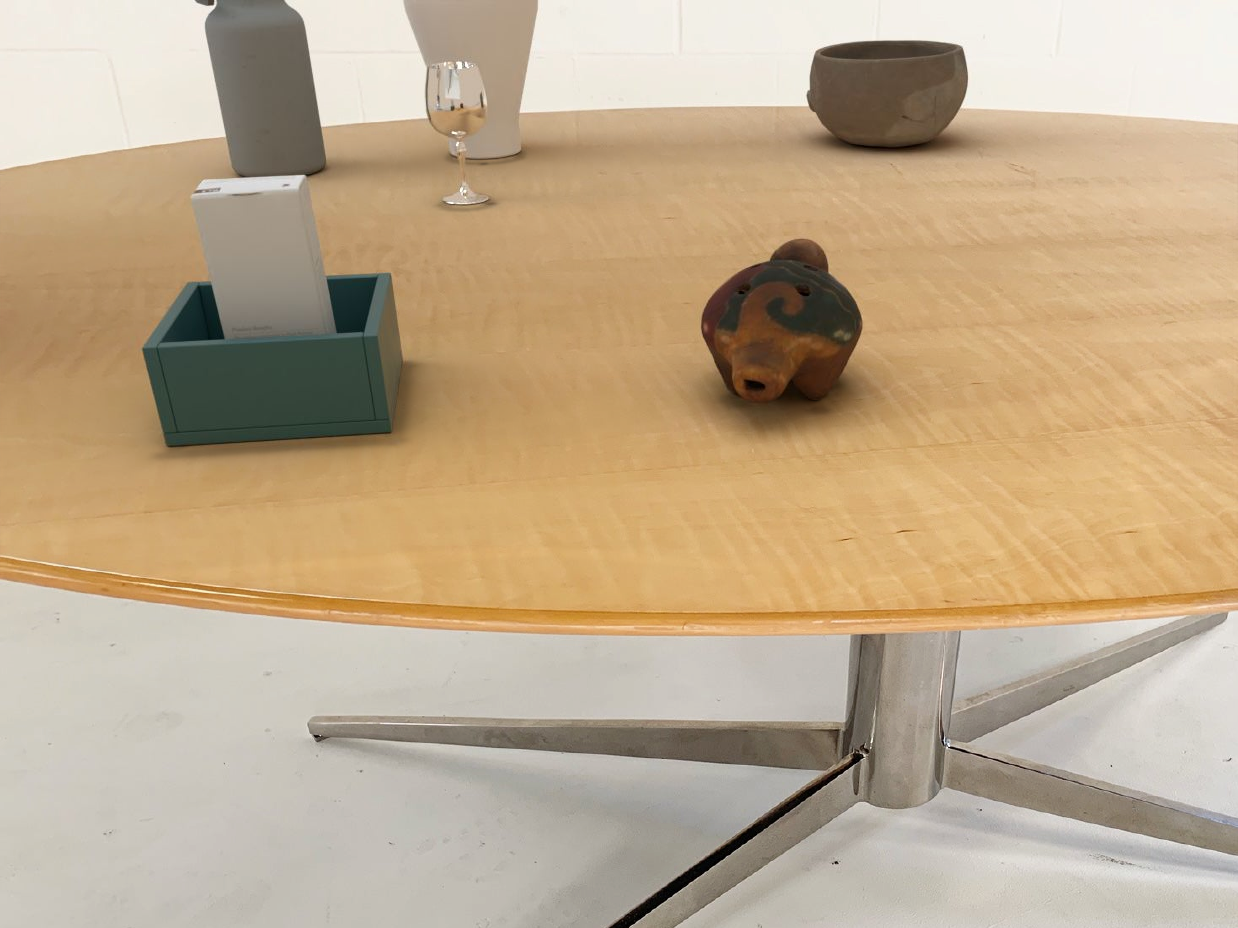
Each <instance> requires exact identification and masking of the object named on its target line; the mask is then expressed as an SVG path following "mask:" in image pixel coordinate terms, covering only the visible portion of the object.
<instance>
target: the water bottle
mask: <svg viewBox="0 0 1238 928" xmlns="http://www.w3.org/2000/svg"><path fill="white" fill-rule="evenodd" d="M194 1H195V2H196V3H197V4H200V5H202V6H206V7H211V6H214V5H215V6H214V8H213V9H211V11H210V12H209V13H208V14H207V16H206V18H205V21H204V31H205V38H206V41H207V47H208V52H209V58H210V64H211V68H212V74H213V76H214V77H213V78H214V83H215V88H216V94H217V97H218V98H217V99H218V103H219V108H220V114H221V118H222V124H223V128H224V134H225V138H226V143H227V148H228V153H229V159H230V164H231V167H232V169H233V170H234V172H236V174H238V175H240V176H243V177H244V178H250V177H270V176H294V175H305V176H309V175H312V174H314V173H317V172H319V171H321V170H322V169H323V168H324V167H325V166H326V165H327V154H326V149H325V143H324V142H325V141H324V138H323V137H324V135H323V130H322V123H321V116H320V112H319V106H318V99H317V93H316V92H317V91H316V86H315V81H314V73H313V66H312V60H311V55H310V54H311V53H310V48H309V43H308V35H307V30H306V25H305V21H304V18H303V17H302V15H301V13H299V12H298V11H297V9H294V7H291V6H290V5H289V4H288V3H287V1H286V0H216V1H215V0H194ZM215 2H216V4H215Z"/></svg>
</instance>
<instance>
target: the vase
mask: <svg viewBox="0 0 1238 928" xmlns="http://www.w3.org/2000/svg"><path fill="white" fill-rule="evenodd" d="M402 2H403V6H404V11H405V14H406V17H407V20H408V23H409V25H410V29H411V31H412V32H413V35H414V39H415V41H416V43H417V46H418V49H419V52H420V54H421V57H422V59H423V63H424V65H425V67H426V69H427V66H428V65H430V64H435V63H444V62H470V63H475V64H477V65H478V68H479V71H480V75H481V78H482V81H483V85H484V89H485V93H486V99H487V117H486V121H485V123H484V125H483V127H482V128H481V129H480V130H479V131H478V132H476V133H475V134H473V135H471V136H469V137H467V138H464V139H463V143H464V144H465V147H466V156H465V159H469V160H491V159H499V158H507V157H512V156H514V155H518V154H519V153H520V152H521V151H522V145H521V143H522V142H521V132H520V131H521V130H520V111H521V106H522V100H523V94H524V88H525V84H526V77H527V72H528V65H529V60H530V56H531V55H530V54H531V48H532V43H533V39H534V32H535V27H536V21H537V14H538V10H539V0H402ZM447 140H448V150H449V153H450V154H451V155H452V156H453V157H456V158H458V157H457V155H456V151H455V148H456V143H457V140H456V139H454V138H450V137H447Z"/></svg>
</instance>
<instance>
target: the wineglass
mask: <svg viewBox="0 0 1238 928" xmlns="http://www.w3.org/2000/svg"><path fill="white" fill-rule="evenodd" d="M423 97H424V108H425V113H426V117H427V119H428V122H429V124H430V125H431V127H432V128H433V129H434V130H435V131H436V132H438V133H439V134H441V135H443V136H445V137H447V138H448V137H450V138H454V139H456V140H457V143H456V148H455V151H456V155H457V157H456V158H457V161H458V163H459V169H460V179H461V185H460V188H459V190H458V191H457V192H455V193H452V194H449V195H445V196H444V197H443V198H442V201H443V202H444V203H445V204H449V205H457V206H458V205H459V206H460V205H461V206H463V205H464V206H465V205H477V204H481V203H485V202H486V201H488V200H489V199H490V197H489V195H487V194H485V193H481V192H475V191H473V190H472V189H471V188H470V186H469V185H468V182H467V174H466V158H465V156H466V147H465V144H464V143H463V139H464V138H467V137H469V136H471V135H473V134H475V133H476V132H478V131H479V130H480V129H481V128H482V127H483V125H484V123H485V121H486V117H487V99H486V93H485V89H484V85H483V81H482V78H481V75H480V71H479V68H478V65H477V64H475V63H470V62H444V63H435V64H430V65H428V66H427V68H426V69H425V80H424V96H423Z"/></svg>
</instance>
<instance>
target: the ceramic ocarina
mask: <svg viewBox="0 0 1238 928" xmlns="http://www.w3.org/2000/svg"><path fill="white" fill-rule="evenodd" d="M700 319H701V321H700V330H701V336H702V338H703V340H704V342H705V345H706V347H707V348H708V350H709V352H710V354H711V356H712V359H713V362H714V364H715V367H716V368H717V370H718V372H719V374H720V376H721V378H722V381H723V383H724V385H725V387H726V389H727V390H728V391H730V392H731V393H732V394H734V395H739V397H741V398H743V399H744V400H745V401H747V402H748V403H753V404H759V405H760V404H761V405H764V404H769V403H772V402H774V401H775V400H777V399H778V398H779V397H780V396H781V395H782V394H783V393H784V391H785V390H786V388H787V386H788V384H789V383H790V381H792V382H793V384H794V385H795V386H796V387H797V388H798V389H799V390H800V391H801V392H802V393H803V394H804V396H806V397H807V398H808V399H809V400H814V401H816V400H821V399H824V398H826V397H827V395H828V394H829V393H830V392H831V390H832V389H833V387H834V386H835V384H836V383H837V381H838V380H839V378H840V377H841V376H842V374H843V372H844V371H845V369H846V367H847V365H848V362H849V360H850V358H851V356H852V355H853V353H854V351H855V349H856V348H857V347H856V346H857V344H858V342H859V340H860V338H861V334H862V332H863V324H864V323H863V318H862V313H861V311H860V308H859V306H858V304H857V301H856V299H855V298H854V297H853V296H852V294H851V292H850V291H849V290H848V289H847V287H846V286H845V285H844V284H843V282H841V281H840V280H839V279H837V278H836V277H834V275H832V274H831V273H829V262H828V258H827V254H826V253H825V251H824V249H823V248H822V246H821V245H820V244H818V243H817V242H815V241H814V240H812V239H808V238H795V239H792V240H789V241H786V242H785V243H783V244H782V245H780V246H779V247H777V248H776V249H775V250H774V251H773V253H772V255H771V256H770V259H769V260H767V261H763V262H760V263H756V264H753V265H751V266H748V267H746V268H744V269H741V270H739V271H738V272H736V273H734V274H733V275H732V276H730V277H729V278H728V279H726V280H725V281H724V282H723V283H722V284H721V285H720V286H718V288H717V289H716V290H715V291H714V292H713V293H712V295H711V296H710V298H709V299H708V301H707V302H706V304H705V307H704V308H703V311H702V315H701V318H700Z"/></svg>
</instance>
